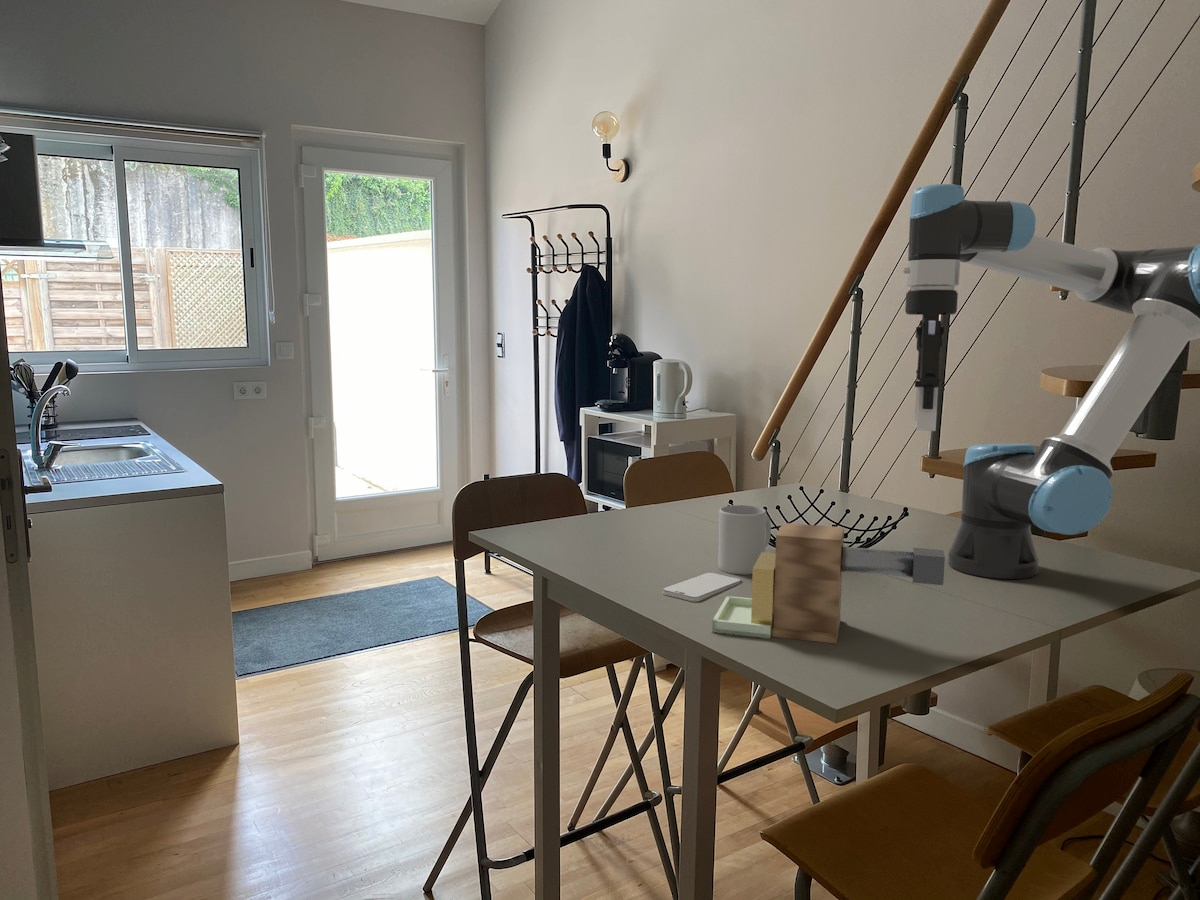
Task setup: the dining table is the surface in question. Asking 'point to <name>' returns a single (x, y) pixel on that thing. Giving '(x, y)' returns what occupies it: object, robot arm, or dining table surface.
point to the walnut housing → (808, 582)
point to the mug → (742, 537)
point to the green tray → (738, 619)
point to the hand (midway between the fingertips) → (924, 425)
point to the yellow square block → (763, 590)
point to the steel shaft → (896, 563)
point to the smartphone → (700, 586)
